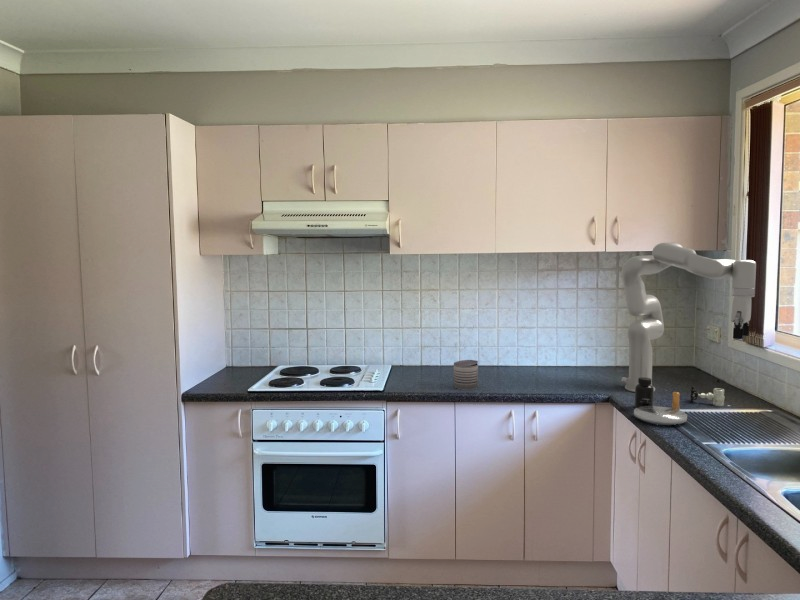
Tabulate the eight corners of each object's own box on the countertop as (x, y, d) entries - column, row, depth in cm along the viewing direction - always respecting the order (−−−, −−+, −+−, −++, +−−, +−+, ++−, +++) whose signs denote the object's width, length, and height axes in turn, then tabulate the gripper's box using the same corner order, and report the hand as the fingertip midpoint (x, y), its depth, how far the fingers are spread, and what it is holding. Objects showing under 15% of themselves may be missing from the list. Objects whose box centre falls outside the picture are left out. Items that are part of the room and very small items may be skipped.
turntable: (671, 427, 196) (672, 407, 196) (624, 415, 211) (624, 397, 210) (701, 415, 209) (701, 397, 209) (654, 405, 224) (655, 387, 223)
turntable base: (668, 428, 199) (668, 425, 199) (632, 419, 210) (632, 416, 210) (688, 420, 208) (688, 418, 208) (651, 412, 219) (651, 409, 219)
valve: (724, 403, 229) (691, 400, 235) (725, 388, 228) (692, 384, 234) (724, 408, 223) (690, 404, 229) (724, 391, 223) (690, 388, 229)
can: (479, 390, 256) (479, 364, 255) (454, 390, 256) (454, 364, 255) (477, 384, 267) (477, 359, 266) (453, 384, 268) (453, 359, 266)
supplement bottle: (644, 411, 220) (645, 381, 219) (630, 406, 226) (631, 377, 225) (657, 409, 223) (657, 379, 222) (643, 404, 229) (644, 375, 228)
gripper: (737, 290, 222) (735, 333, 223) (726, 293, 209) (724, 339, 211) (759, 291, 217) (757, 335, 218) (749, 294, 204) (747, 341, 206)
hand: (740, 337), depth 214 cm, fingers open, 9 cm apart
